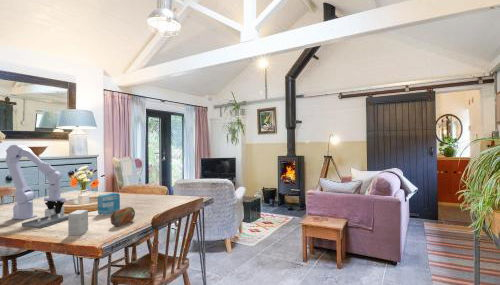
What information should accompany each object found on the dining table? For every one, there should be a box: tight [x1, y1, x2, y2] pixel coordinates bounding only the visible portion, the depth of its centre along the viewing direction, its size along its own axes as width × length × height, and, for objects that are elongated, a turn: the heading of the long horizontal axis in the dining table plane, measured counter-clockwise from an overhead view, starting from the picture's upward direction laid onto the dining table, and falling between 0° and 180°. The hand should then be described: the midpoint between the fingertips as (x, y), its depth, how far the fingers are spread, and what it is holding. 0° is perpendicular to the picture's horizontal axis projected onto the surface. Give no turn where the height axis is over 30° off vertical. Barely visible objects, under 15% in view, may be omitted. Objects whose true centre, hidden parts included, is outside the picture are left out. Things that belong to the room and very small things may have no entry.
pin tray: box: [21, 214, 68, 229], centre depth 154 cm, size 13×20×3 cm, turn 166°
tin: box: [110, 206, 136, 227], centre depth 149 cm, size 15×3×8 cm, turn 160°
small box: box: [67, 209, 89, 237], centre depth 135 cm, size 8×6×10 cm
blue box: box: [97, 192, 121, 216], centre depth 173 cm, size 12×4×12 cm, turn 146°
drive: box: [44, 205, 65, 217], centre depth 167 cm, size 4×9×5 cm, turn 166°
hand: (54, 213), depth 167 cm, fingers closed on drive, 4 cm apart
